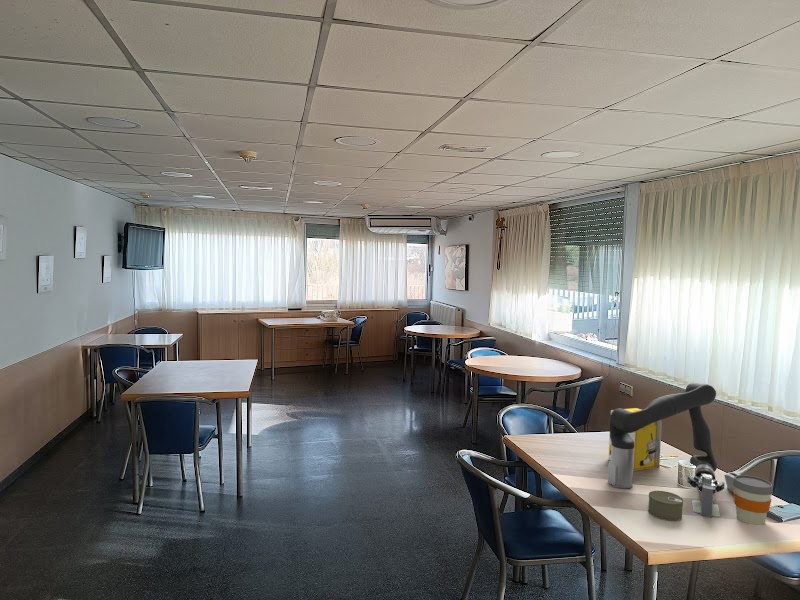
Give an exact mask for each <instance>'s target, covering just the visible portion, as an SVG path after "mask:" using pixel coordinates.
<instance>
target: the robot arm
mask: <svg viewBox="0 0 800 600" xmlns="http://www.w3.org/2000/svg"><path fill="white" fill-rule="evenodd" d="M716 397H717V391H716V389H715V388H714V387H713V386H712V385H710V384H706V383H700V382H691V383H688V384H687V386H686V387H685V392H681V393H671V394H666V395H662V396H659V397H656V398H655V399H652V400H651V401H649V403H648V405H647V406H646V407H645V408H643V409H641V410H640V411H637V412H630V411H627V410H625V409H626V408H620V407H618V408H615V409H613V410H614V411H613V412H612V414H611V413H610V417H609V440H610V439H611V460H609V461H608V466H607V468H608V469H607V483H608V484H610V485H611V484H612V485H613V486H612V485H611V486H612V487H614V488H618V489H631V488H632V487H633V482H634V481H633V480H634V479H633V478H634V476H633V475H634V471H633V460H634V441H633V440H632V438H631V437H630V436H629V434H628V433H633V432H635V431H638V430H639V429H641V428H643V427H645V426H647V425H649V424H651V423H654V422H657V421H659V420H662V421H663V420H664V419H668V418H671V417H673V416H676V415H677V414H681V413H684V412H686V411H688V413H689V417H690V422H691V427H692V428H691V429H692V441H693V448H694V449H695V450H697V451H700V452H704V453H705V454H706V455H701V454H700V455H699V454H697V455H696V454H694V455H692V456H691V457H690V458H689V464H690V463H691V464H693V465H695V466H696V468H695V472H694V476H691V475H687V478H686V479H687V481H686V483H688V484H689V485H690V486H691V487H692V488H697V490H698V491H699V492H700V493H701V492H702V484H701V481H702V474H706V475H712V485H713V494H716V492H718V493H720V492H722V491H723V490H725V486H726V485H725V483H726V482H724V481H719V482H718V480H716V479H717V478H716V475H715V474H716V473H715V472H716V471H717V469H718V464H717V463H718V462H717V461H716V459H715V458H716V457H715V455H714V453H713V449H712V435H711V431H710V428H709V426H708V423H707V422H706V420H705V419H706V418H705V417H704V416H703V413H702V406H705V405H709V404H711V403H713V402H714V401H715V399H716Z"/></svg>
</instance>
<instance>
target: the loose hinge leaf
mask: <svg viewBox="0 0 800 600" xmlns="http://www.w3.org/2000/svg"><path fill="white" fill-rule="evenodd" d="M703 483H709V484H711V485H712V475H706V474H702V481H701V484H702V485H703ZM699 501H701V503H702V492H700V500H699Z"/></svg>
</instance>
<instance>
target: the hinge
mask: <svg viewBox="0 0 800 600" xmlns="http://www.w3.org/2000/svg"><path fill="white" fill-rule="evenodd" d="M737 475H741V474H740V473H738V472H732V471H731V472H728V473H725V474H724V480H725V483H726V488H727V489H729V491H731V492H732V493H733V492H734V485H733V482H734V477H735V476H737Z"/></svg>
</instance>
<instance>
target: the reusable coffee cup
mask: <svg viewBox="0 0 800 600" xmlns="http://www.w3.org/2000/svg"><path fill="white" fill-rule="evenodd" d="M733 485H734V492H732V493H733V502H734V505H735V511H736V518H737V519H738V520H739V521H741V522H744V523H746V524H749V525H752V526H753V525H754V526H764V525H765V524H766V520H767V514H768V513H769V512H770V508H771V503H772V498H771V497H772V495H773V493H774V492H773V490H774V489H773V484H772V483H771V482H770V481H769V480H766V479H764V478H761V477H758V476H753V475H746V474H740V475H737V476H735V477H734V482H733Z"/></svg>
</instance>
